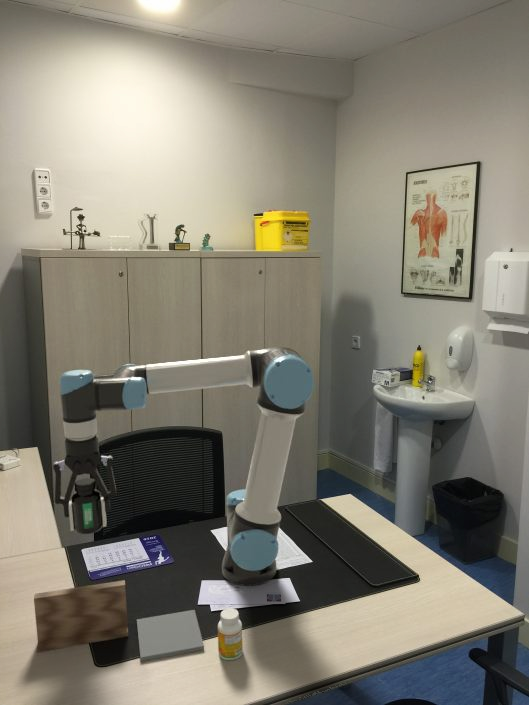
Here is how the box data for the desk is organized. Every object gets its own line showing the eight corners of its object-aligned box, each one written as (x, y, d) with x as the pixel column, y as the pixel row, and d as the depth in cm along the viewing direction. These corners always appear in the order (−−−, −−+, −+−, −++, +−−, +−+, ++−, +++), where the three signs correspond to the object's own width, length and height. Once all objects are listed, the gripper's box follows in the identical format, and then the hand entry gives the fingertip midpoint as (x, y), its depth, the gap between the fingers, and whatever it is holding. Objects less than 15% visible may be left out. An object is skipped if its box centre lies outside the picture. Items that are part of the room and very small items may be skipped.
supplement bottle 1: (95, 536, 143) (90, 488, 141) (68, 533, 144) (64, 486, 142) (108, 522, 150) (104, 477, 147) (83, 520, 151) (79, 475, 149)
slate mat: (194, 613, 149) (194, 609, 149) (204, 649, 136) (203, 645, 136) (136, 623, 146) (136, 619, 146) (140, 661, 132) (140, 657, 132)
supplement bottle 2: (218, 645, 137) (217, 606, 136) (242, 644, 138) (241, 605, 136) (218, 661, 132) (217, 621, 130) (243, 660, 133) (242, 620, 131)
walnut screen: (127, 620, 147) (124, 575, 144) (128, 636, 141) (125, 589, 139) (39, 635, 142) (35, 589, 139) (37, 652, 136) (32, 603, 134)
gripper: (123, 427, 149) (129, 514, 153) (38, 435, 144) (47, 524, 148) (124, 436, 141) (130, 527, 146) (35, 445, 137) (44, 539, 141)
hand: (88, 526), depth 147 cm, fingers closed on supplement bottle 1, 7 cm apart
